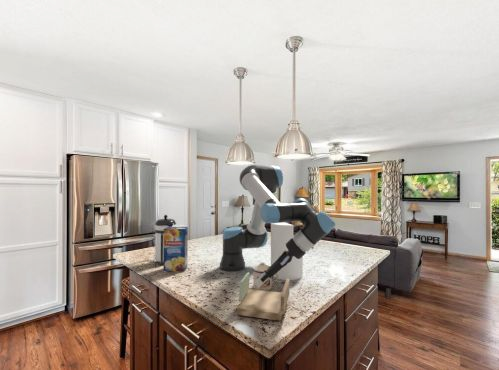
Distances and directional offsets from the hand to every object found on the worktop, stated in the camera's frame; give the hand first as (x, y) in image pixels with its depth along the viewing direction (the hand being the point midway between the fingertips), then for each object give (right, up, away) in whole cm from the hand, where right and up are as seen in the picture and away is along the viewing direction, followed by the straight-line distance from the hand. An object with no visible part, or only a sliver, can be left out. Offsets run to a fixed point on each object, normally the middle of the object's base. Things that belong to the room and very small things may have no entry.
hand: (256, 284), depth 98 cm
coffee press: (-57, -10, +61) cm, 84 cm away
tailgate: (-5, -6, +1) cm, 8 cm away
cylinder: (+18, -10, +38) cm, 43 cm away
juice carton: (-45, -10, +46) cm, 65 cm away
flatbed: (+3, -9, -1) cm, 9 cm away
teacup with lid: (+5, -9, +20) cm, 22 cm away
